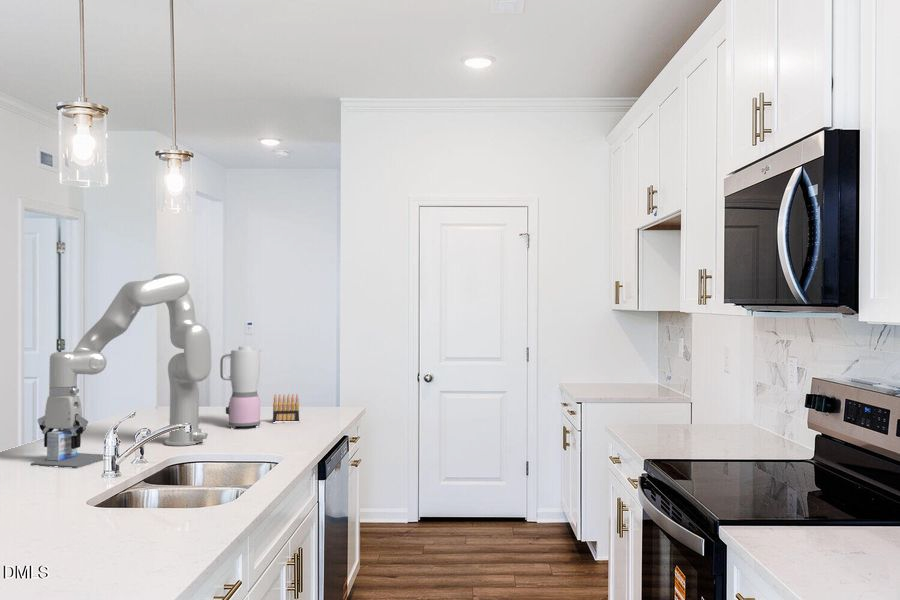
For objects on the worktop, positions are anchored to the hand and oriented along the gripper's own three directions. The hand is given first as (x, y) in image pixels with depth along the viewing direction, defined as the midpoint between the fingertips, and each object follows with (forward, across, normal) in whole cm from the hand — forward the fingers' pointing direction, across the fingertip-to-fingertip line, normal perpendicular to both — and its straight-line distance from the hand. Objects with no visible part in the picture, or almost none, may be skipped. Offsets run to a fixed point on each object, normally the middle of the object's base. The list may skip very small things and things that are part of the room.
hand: (62, 447), depth 216 cm
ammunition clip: (+4, -36, -82) cm, 90 cm away
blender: (+4, -23, -68) cm, 72 cm away
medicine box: (+4, 0, 0) cm, 4 cm away
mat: (+4, -4, 0) cm, 6 cm away
